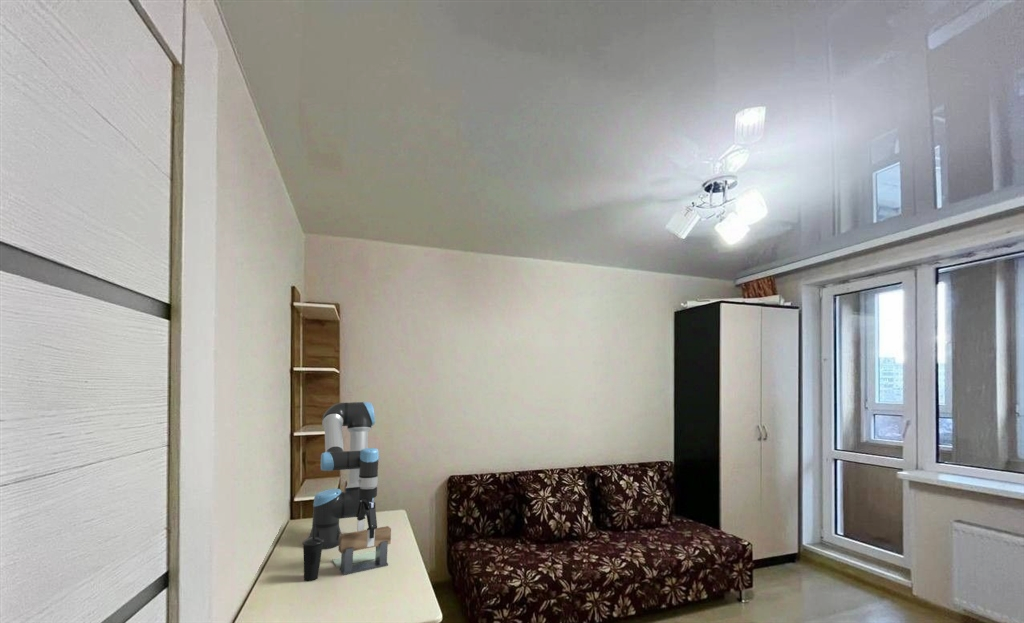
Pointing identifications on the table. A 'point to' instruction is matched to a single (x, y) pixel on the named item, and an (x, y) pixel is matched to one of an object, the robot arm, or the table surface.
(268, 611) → the table surface
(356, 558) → the mat
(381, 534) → the rail
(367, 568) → the rack
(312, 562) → the drinking cup
